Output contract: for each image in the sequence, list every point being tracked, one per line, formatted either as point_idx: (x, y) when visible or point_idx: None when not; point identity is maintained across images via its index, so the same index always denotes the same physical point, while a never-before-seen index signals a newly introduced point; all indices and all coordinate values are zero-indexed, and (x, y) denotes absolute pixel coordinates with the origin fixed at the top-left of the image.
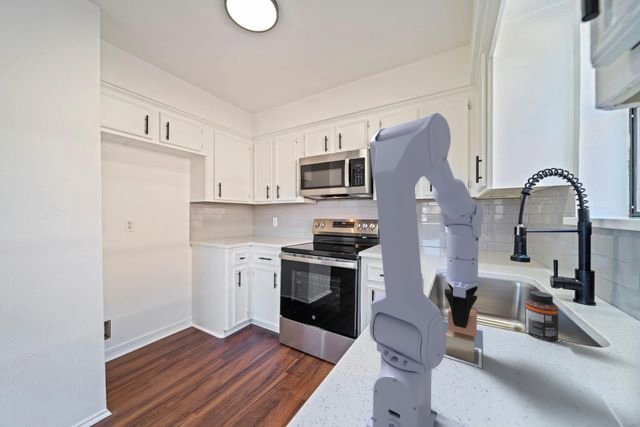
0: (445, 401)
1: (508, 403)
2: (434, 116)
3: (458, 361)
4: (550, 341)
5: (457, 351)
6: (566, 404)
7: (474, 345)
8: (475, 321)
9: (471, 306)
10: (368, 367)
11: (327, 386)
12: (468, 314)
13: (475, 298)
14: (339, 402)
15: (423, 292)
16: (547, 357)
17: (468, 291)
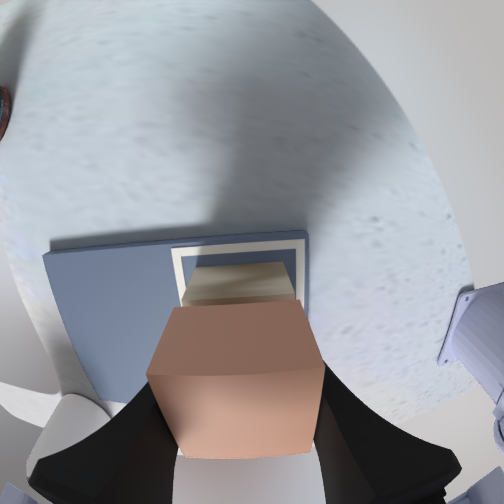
0: (438, 287)
1: (393, 174)
2: None
3: (307, 299)
4: (3, 94)
5: None
6: (307, 50)
7: (234, 280)
8: (316, 350)
9: (409, 435)
10: (394, 404)
11: (444, 403)
12: (363, 403)
13: (460, 467)
14: (464, 379)
15: (49, 437)
16: (68, 84)
17: (133, 496)
